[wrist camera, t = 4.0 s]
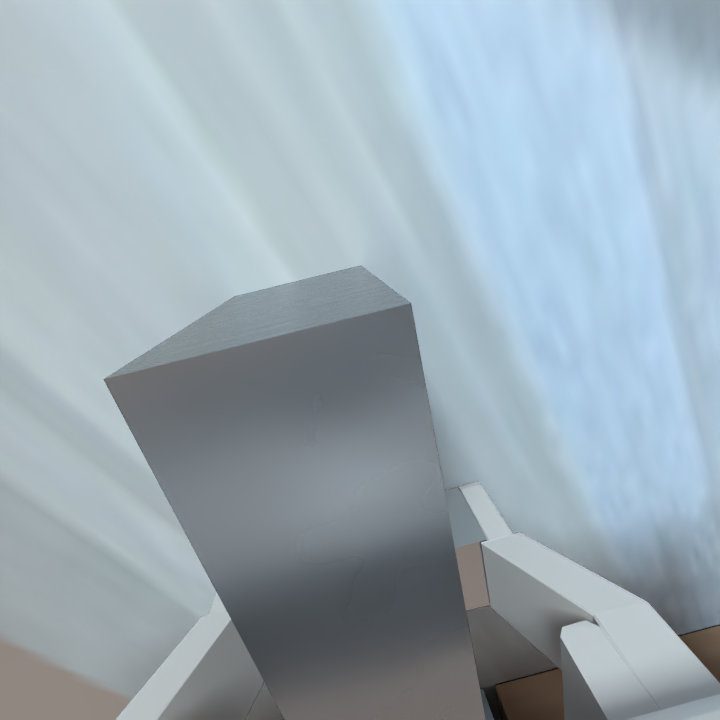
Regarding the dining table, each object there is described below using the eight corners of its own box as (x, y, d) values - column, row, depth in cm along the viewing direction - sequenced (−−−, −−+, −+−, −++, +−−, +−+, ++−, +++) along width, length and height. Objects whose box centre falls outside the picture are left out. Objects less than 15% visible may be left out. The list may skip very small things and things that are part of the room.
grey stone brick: (360, 265, 8) (411, 303, 3) (437, 611, 12) (508, 848, 7) (234, 296, 8) (103, 379, 3) (353, 633, 12) (372, 884, 7)
